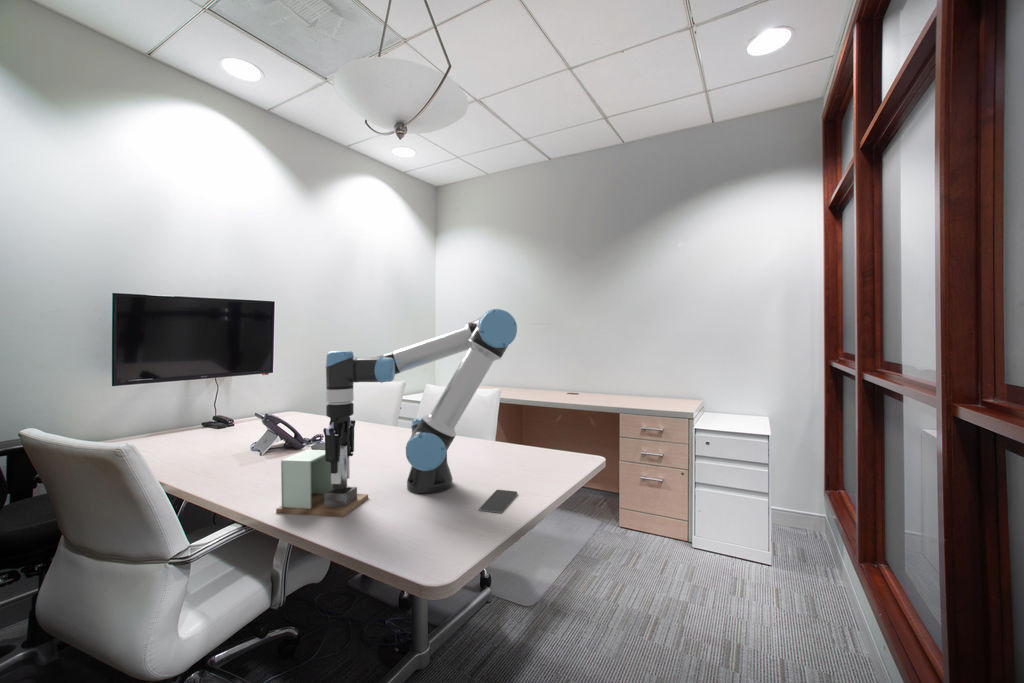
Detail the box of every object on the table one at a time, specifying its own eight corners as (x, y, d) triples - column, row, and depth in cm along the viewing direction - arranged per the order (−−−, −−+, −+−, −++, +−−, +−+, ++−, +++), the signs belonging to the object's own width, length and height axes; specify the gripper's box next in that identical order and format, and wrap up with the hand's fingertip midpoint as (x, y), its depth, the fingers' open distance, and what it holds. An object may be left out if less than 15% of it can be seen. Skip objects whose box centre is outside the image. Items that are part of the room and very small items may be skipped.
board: (368, 498, 131) (368, 483, 131) (343, 516, 117) (343, 500, 117) (307, 494, 134) (307, 480, 134) (276, 512, 120) (276, 496, 120)
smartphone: (477, 509, 120) (496, 489, 135) (477, 512, 120) (496, 492, 135) (501, 512, 118) (518, 491, 133) (501, 515, 118) (518, 494, 133)
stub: (349, 484, 126) (349, 444, 126) (342, 489, 122) (342, 448, 122) (337, 483, 127) (337, 444, 127) (330, 488, 123) (329, 447, 123)
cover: (334, 493, 131) (333, 450, 131) (310, 508, 120) (309, 461, 120) (308, 492, 133) (307, 449, 133) (281, 507, 121) (281, 460, 121)
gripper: (344, 398, 133) (344, 471, 134) (310, 406, 117) (311, 490, 117) (366, 398, 132) (366, 472, 132) (335, 407, 116) (335, 491, 116)
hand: (340, 480), depth 125 cm, fingers closed on stub, 4 cm apart
